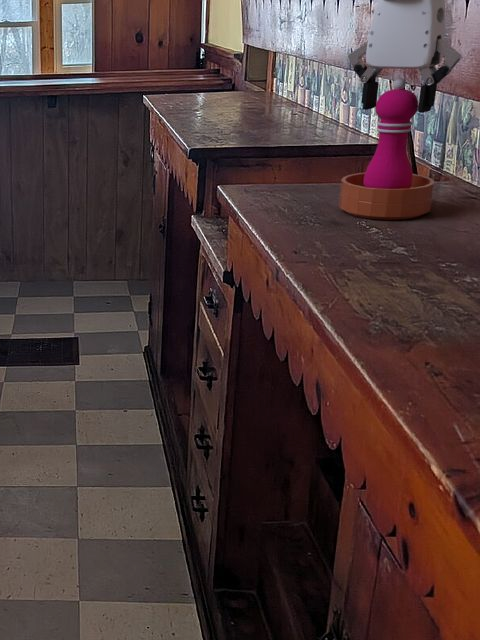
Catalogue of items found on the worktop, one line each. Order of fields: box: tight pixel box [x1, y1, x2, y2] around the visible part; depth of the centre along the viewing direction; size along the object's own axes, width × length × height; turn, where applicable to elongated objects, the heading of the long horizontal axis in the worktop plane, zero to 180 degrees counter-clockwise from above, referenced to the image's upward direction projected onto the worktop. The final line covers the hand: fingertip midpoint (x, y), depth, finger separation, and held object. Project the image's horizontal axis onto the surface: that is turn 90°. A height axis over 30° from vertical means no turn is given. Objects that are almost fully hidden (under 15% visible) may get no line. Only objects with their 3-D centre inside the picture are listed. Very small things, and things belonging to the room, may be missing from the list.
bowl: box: [338, 172, 436, 221], centre depth 139 cm, size 14×14×5 cm
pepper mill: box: [363, 77, 419, 189], centre depth 136 cm, size 7×7×20 cm
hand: (396, 109), depth 134 cm, fingers open, 8 cm apart
